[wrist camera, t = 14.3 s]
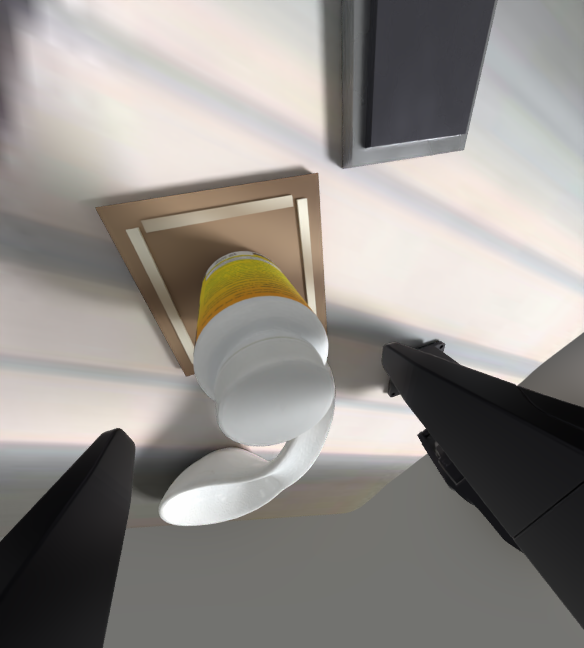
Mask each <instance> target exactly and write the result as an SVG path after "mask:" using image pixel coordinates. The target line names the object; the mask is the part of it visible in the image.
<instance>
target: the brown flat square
mask: <svg viewBox="0 0 584 648" xmlns="http://www.w3.org/2000/svg"><path fill="white" fill-rule="evenodd" d="M96 210H97V212H98V214H99V216H100V218H101V220H102V221H103V223H104V225H105V227H106V229H107V231H108V233H109V234H110V236H111V238H112V240H113V242H114V244H115V246H116V247H117V249H118V251H119V253H120V255H121V257H122V259H123V260H124V262H125V264H126V266H127V268H128V270H129V272H130V273H131V275H132V277H133V279H134V281H135V283H136V285H137V286H138V288H139V290H140V292H141V294H142V296H143V298H144V299H145V301H146V303H147V305H148V307H149V309H150V311H151V312H152V314H153V316H154V318H155V320H156V322H157V324H158V325H159V327H160V329H161V331H162V333H163V335H164V337H165V338H166V340H167V342H168V344H169V346H170V348H171V350H172V351H173V353H174V355H175V357H176V359H177V361H178V362H179V364H180V366H181V368H182V370H183V372H184V374H185V375H186V376H190V375H193V374H195V372H194V365H193V360H194V357H193V353H194V346H195V337H196V330H197V321H198V310H199V302H200V293H201V285H202V281H203V278H204V276H205V274H206V272H207V270H208V269H209V268H210V266H211V265H212V264H213V263H214V262H215V261H216V260H218V259H219V258H221V257H222V256H225V255H227V254H229V253H233V252H238V251H249V252H255V253H258V254H261V255H263V256H265V257H267V258H268V259H270V260H271V261H272V262H273V263H274V264H275V265H276V266H277V267H278V268H279V269H280V270H281V272H282V273H283V274H284V276H285V277H286V278H287V279H288V280H289V282H290V283H291V284H292V285H293V287H294V288H295V289H296V291H297V292H298V293H299V294H300V296H301V297H302V298H303V299H304V301H305V302H306V303H307V304H308V306H309V307H310V308H311V309H312V311H313V312H314V313H315V314H316V316H317V317H318V319H319V320H320V322H321V323H322V325H323V327H324V329H325V331H326V335H327V321H326V303H325V286H324V268H323V250H322V232H321V214H320V196H319V178H318V173H313V174H307V175H300V176H294V177H287V178H281V179H275V180H268V181H262V182H255V183H249V184H242V185H236V186H230V187H223V188H217V189H210V190H204V191H198V192H191V193H185V194H178V195H172V196H166V197H159V198H153V199H146V200H140V201H134V202H127V203H121V204H114V205H108V206H102V207H96Z"/></svg>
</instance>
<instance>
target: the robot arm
mask: <svg viewBox="0 0 584 648" xmlns="http://www.w3.org/2000/svg"><path fill="white" fill-rule="evenodd" d="M444 348H445V343H443V342H441V341H439V342H436V343H433V344H430V345H427V346H424V347H421V348H418V349H414V348H411V347H408V346H406V345H403V344H400V343H397V342H391V343H388V344H385V345H384V346H383V352H382V366H383V368H384V369H385V371H386V372H387V374H388V376H389V377H390V381H389V388H388V395H389V396H390V397H394V396H397V395H401V396H402V398H403V399H404V401H405V402H406V403H407V405H408V406H409V407H410V409H411V410H412V411H413V412H414V414H415V415H416V416H417V418H418V419H419V420H420V421H421V423H422V424H423V425H424V426H425V428H426V429H425V430H424V431H423V432H420V433H419V434H418V435H417V436H418V437H419V439H420V441H421V442H422V445H423V447H424V448H425V450H426V451H427V453H428V455H429V456H430V458H431V459H432V461H433V462H434V464H435V465H436V467H437V469H438V470H439V472H440V474H441V475H442V476H443V478H444V480H445V482H446V483H447V484H448V486H449V487H450V488H451V489H452V490H453V491H456V492H457V493H458V494H459V495H460V496H461V497H462V498H464V499H465V500H466V501H467V502H469V503H470V504H472V505H475V506H476V507H477V508H478V509H479V510H480V511H481V513H482V514H483V515H484V516H485V517H486V519H487V520H488V521H489V522H490V523H491V525H492V526H493V527H494V528H495V529H496V531H497V532H498V533H499V534H500V535H501V537H502V538H503V539H504V540H505V541H506V542H508V543H509V544H510V545H512V546H513V547H515V548H516V549H518V550H519V551H521V552H522V553H524V554H525V555H526V557H527V558H528V559H529V560H530V562H531V563H532V564H533V566H534V567H535V568H536V569H537V570H538V572H539V573H540V574H541V576H542V577H543V578H544V579H545V581H546V582H547V583H548V584H549V586H550V587H551V588H552V590H553V591H554V592H555V594H556V595H557V596H558V597H559V599H560V600H561V601H562V602H563V604H564V605H565V606H566V608H567V609H568V610H569V611H570V613H571V614H572V615H573V616H574V618H575V619H576V620H577V621H578V623H579V624H580V625H581V627H582V628H583V629H584V407H581V406H578V405H575V404H571V403H568V402H565V401H561V400H559V399H556V398H553V397H550V396H547V395H544V394H541V393H538V392H535V391H533V390H530V389H527V388H524V387H521V386H516V385H515V384H513V383H510V382H507V381H504V380H501V379H499V378H496V377H493V376H490V375H487V374H485V373H482V372H479V371H476V370H473V369H470V368H468V367H465V366H462V365H460V364H459V363H457V362H456V361H454V360H453V359H452V358H450V357H449V356H448V355H446V354H445V353H443V351H444ZM134 460H135V444H134V442H133V441H132V440H131V438H130V437H129V436H128V435H127V434H126V433H125V432H124V431H123V430H122V429H120V428H116V429H113V430H110V431H106V432H104V433H102V434H101V435H100V436H99V437H98V438H97V439H96V440H95V442H94V443H93V444H92V445H91V446H90V447H89V448H88V449H87V450H86V451H85V452H84V453H83V454H82V455H81V456H80V457H79V459H78V460H77V461H76V462H75V463H74V464H73V465H72V466H71V467H70V468H69V469H68V470H67V471H66V472H65V473H64V474H63V476H62V477H61V478H60V479H59V480H58V481H57V482H56V483H55V484H54V485H53V486H52V487H51V488H50V489H49V490H48V491H47V493H46V494H45V495H44V496H43V497H42V498H41V499H40V500H39V501H38V502H37V503H36V504H35V505H34V506H33V507H32V508H31V510H30V511H29V512H28V513H27V514H26V515H25V516H24V517H23V518H22V519H21V520H20V521H19V522H18V523H17V524H16V525H15V526H14V528H13V529H12V530H11V531H10V532H9V533H8V534H7V535H6V536H5V537H4V538H3V539H2V540H1V542H0V648H103V644H104V638H105V634H106V628H107V623H108V617H109V613H110V607H111V602H112V597H113V592H114V587H115V581H116V577H117V571H118V566H119V561H120V555H121V550H122V545H123V540H124V535H125V530H126V525H127V520H128V514H129V509H130V503H131V495H132V483H133V472H134Z"/></svg>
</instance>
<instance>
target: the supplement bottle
mask: <svg viewBox="0 0 584 648" xmlns="http://www.w3.org/2000/svg"><path fill="white" fill-rule="evenodd" d="M327 356H328V339H327V335H326V331H325V329H324V327H323V325H322V323H321V322H320V320H319V319H318V317H317V316H316V314H315V313H314V312H313V311H312V309H311V308H310V307H309V306H308V304H307V303H306V302H305V301H304V299H303V298H302V297H301V296H300V294H299V293H298V292H297V291H296V289H295V288H294V287H293V285H292V284H291V283H290V282H289V280H288V279H287V278H286V277H285V276H284V274H283V273H282V272H281V270H280V269H279V268H278V267H277V266H276V265H275V264H274V263H273V262H272V261H271V260H270V259H268V258H267V257H265V256H263V255H261V254H258V253H255V252H249V251H238V252H233V253H229V254H227V255H225V256H222V257H221V258H219V259H218V260H216V261H215V262H214V263H213V264H212V265H211V266H210V268H209V269H208V270H207V272H206V274H205V276H204V278H203V281H202V285H201V293H200V302H199V310H198V321H197V330H196V337H195V346H194V353H193V357H194V360H193V365H194V372H195V376H196V379H197V381H198V383H199V385H200V387H201V388H202V390H203V391H204V392H205V393H206V394H207V395H208V396H209V397H210V398H211V399H212V400H214V401H215V402H216V417H217V422H218V425H219V427H220V429H221V430H222V432H223V433H224V434H225V435H226V436H227V437H228V438H230V439H231V440H233V441H235V442H237V443H240V444H244V445H248V446H269V445H275V444H279V443H283V442H286V441H289V440H291V439H293V438H296V437H298V436H300V435H301V434H303V433H305V432H306V431H308V430H309V429H311V428H312V427H313V426H314V425H316V424H317V423H318V422H319V421H320V420H321V419H322V418H323V417H324V415H325V414H326V413H327V411H328V409H329V408H330V406H331V404H332V400H333V397H334V382H333V379H332V377H331V375H330V373H329V371H328V370H327V368H326V367H325V363H326V360H327Z"/></svg>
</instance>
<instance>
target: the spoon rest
mask: <svg viewBox="0 0 584 648" xmlns="http://www.w3.org/2000/svg"><path fill="white" fill-rule="evenodd" d="M325 367H326V368H327V370H328V371H329V373H330V375H331V377H332V379H333V382H334V378H333V374H332V371H331V369H330V367H329V365H328V363H327V362H326V363H325ZM334 407H335V383H334V397H333V400H332V404H331V406H330V408H329V409H328V411H327V413H326V414H325V415H324V417H323V418H322V419H321V420H320V421H319V422H318V423H317V424H316V425H314V426H313V427H312V428H311V429H309V430H308V431H306V432H305V433H303V434H301V435H300V436H298V437H296V438H293V439H291V440H289V441H287V442H286V444H285V445H284V447H283V449H282V450H281V452H280V453H279V454H278V456H277V457H276V458H274V459H273V460H272V461H270V462H269V461H266V460H264V459H263V458H261V457H259V456H257V455H255V454H253V453H251V452H248V451H246V450H244V449H241V448H236V447H230V448H223V449H219V450H216V451H213V452H211V453H209V454H207V455H206V456H204V457H203V458H201V459H200V460H198V461H197V462H195V463H193V464H192V465H191V466H189V467H188V468H187V469H186V470H184V471H183V472H182V473H181V474H180V475H179V476H178V477H177V478H176V479H175V481H174V482H173V483H172V484H171V486H170V487H169V489H168V490H167V492H166V493H165V495H164V497H163V499H162V501H161V503H160V505H159V515H160V517H161V518H162V519H163V520H164V521H166V522H167V523H170V524H174V525H180V526H192V525H193V526H194V525H204V524H205V525H206V524H213V523H218V522H223V521H227V520H231V519H234V518H238V517H240V516H243V515H245V514H248V513H250V512H252V511H254V510H256V509H258V508H260V507H261V506H263V505H264V504H266V503H268V502H269V501H270V500H272V499H273V498H274V497H275V496H277V495H278V494H279V493H280V492H281V491H282V490H284V489H285V488H287V487H289V486H290V485H292V484H293V483H295V482H296V481H297V480H299V479H300V478H301V477H302V476H303V475H304V474H305V473H306V472H307V471H308V470H309V468H310V467H311V466H312V465H313V463H314V462H315V460H316V458H317V457H318V455H319V453H320V451H321V449H322V447H323V445H324V443H325V440H326V438H327V435H328V432H329V429H330V426H331V422H332V418H333V414H334Z"/></svg>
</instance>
